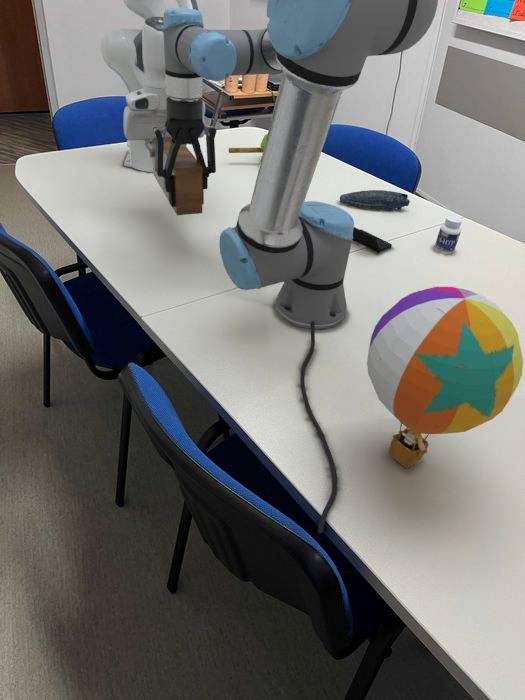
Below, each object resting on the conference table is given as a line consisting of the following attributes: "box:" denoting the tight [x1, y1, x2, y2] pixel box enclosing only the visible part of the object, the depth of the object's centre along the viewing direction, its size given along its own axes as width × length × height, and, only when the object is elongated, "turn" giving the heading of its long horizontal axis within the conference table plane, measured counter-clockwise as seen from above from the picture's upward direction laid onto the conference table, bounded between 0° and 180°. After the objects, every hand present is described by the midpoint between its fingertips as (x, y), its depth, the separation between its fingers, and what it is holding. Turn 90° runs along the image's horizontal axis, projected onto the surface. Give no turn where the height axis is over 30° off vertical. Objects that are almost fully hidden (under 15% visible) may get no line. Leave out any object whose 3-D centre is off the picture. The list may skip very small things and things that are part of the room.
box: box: [151, 137, 203, 216], centre depth 127 cm, size 26×6×11 cm, turn 21°
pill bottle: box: [434, 215, 463, 255], centre depth 137 cm, size 5×5×9 cm
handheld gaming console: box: [352, 226, 393, 254], centre depth 138 cm, size 12×7×10 cm
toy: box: [366, 286, 524, 469], centre depth 73 cm, size 20×20×30 cm
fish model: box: [339, 189, 411, 211], centre depth 158 cm, size 7×21×5 cm, turn 84°
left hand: (166, 156), depth 134 cm, fingers closed on box, 6 cm apart
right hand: (186, 203), depth 122 cm, fingers closed on box, 6 cm apart
